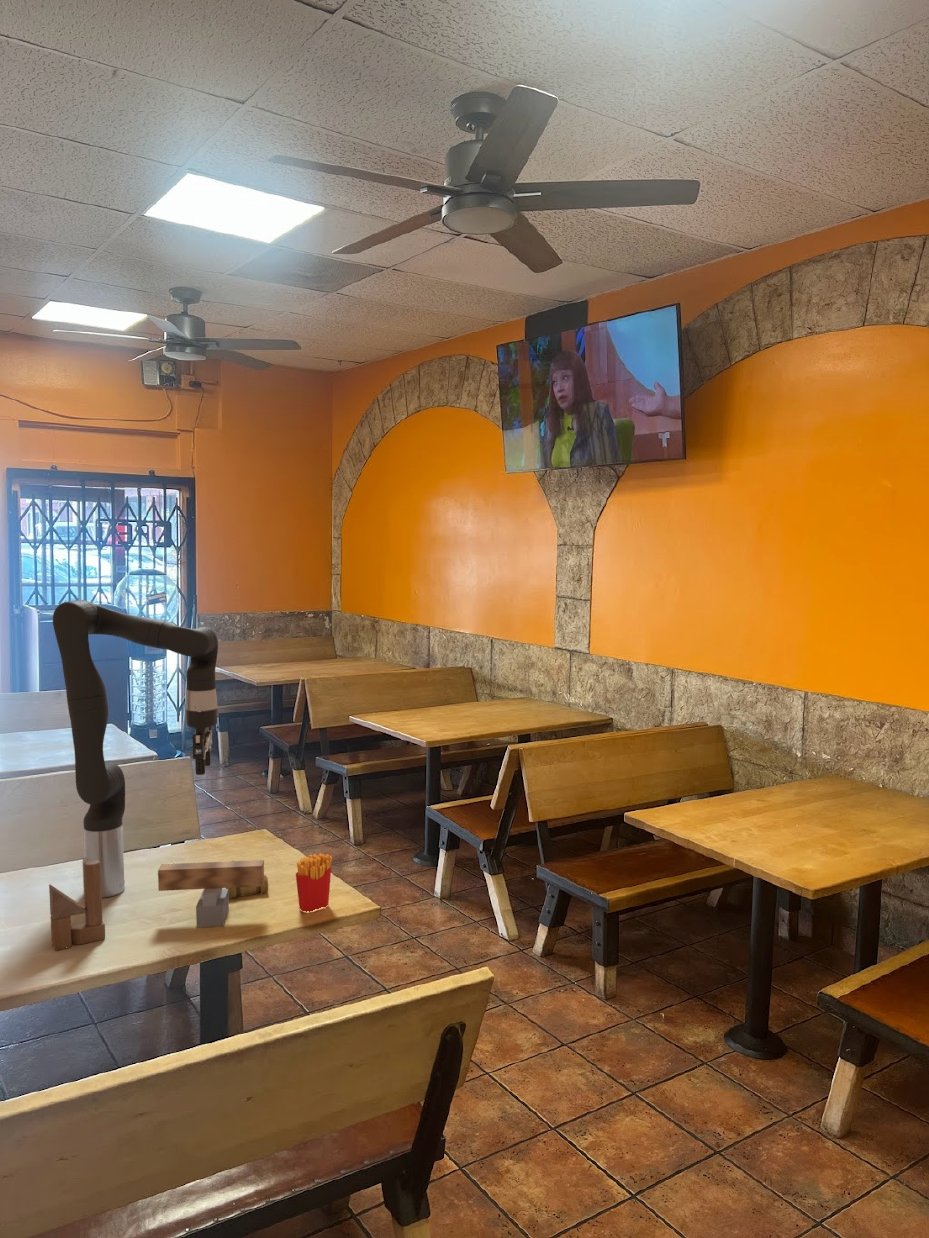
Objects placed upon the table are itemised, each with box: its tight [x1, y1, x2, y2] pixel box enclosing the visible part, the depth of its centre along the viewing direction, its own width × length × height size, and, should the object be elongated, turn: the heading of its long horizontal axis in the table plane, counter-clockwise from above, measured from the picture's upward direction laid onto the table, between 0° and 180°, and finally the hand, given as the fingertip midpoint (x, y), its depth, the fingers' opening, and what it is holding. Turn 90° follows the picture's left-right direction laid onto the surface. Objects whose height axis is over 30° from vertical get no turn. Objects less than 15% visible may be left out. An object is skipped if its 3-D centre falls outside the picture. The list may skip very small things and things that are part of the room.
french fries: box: [295, 852, 333, 912], centre depth 224 cm, size 9×4×13 cm, turn 128°
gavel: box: [225, 874, 269, 900], centre depth 241 cm, size 21×5×10 cm
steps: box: [195, 888, 230, 928], centre depth 219 cm, size 6×10×8 cm, turn 7°
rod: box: [157, 859, 265, 892], centre depth 218 cm, size 24×4×5 cm, turn 97°
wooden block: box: [48, 860, 106, 951], centre depth 205 cm, size 4×11×18 cm, turn 125°
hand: (203, 769), depth 231 cm, fingers open, 8 cm apart
